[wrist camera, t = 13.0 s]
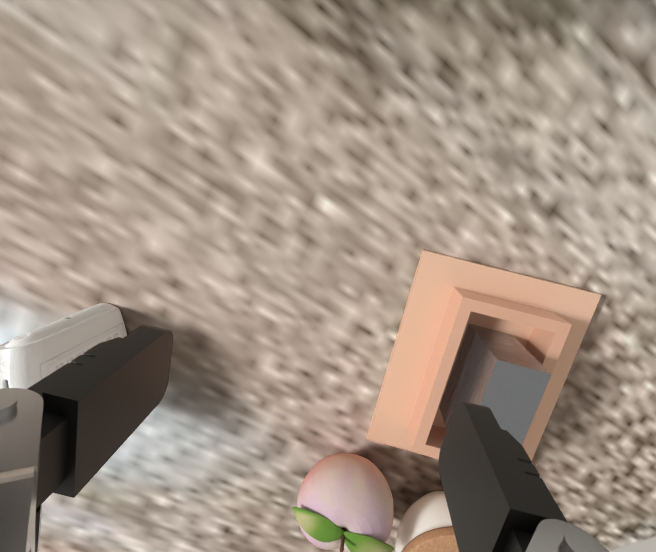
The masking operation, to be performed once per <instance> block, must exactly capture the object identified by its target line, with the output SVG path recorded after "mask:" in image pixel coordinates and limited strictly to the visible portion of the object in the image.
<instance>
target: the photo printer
mask: <svg viewBox="0 0 656 552" xmlns="http://www.w3.org/2000/svg"><path fill="white" fill-rule="evenodd" d="M125 336H127V333H126V328H125V325H124V321H123V318H122V315H121V312H120V310H119V308H118V307H115V306H114V305H111V304H108V303H100V304H97V305H94V306H92V307H89V308H87V309H84V310H82V311H79V312H77V313H74V314H72V315H69V316H67V317H64V318H62V319H59V320H57V321H54V322H52V323H49V324H47V325H44V326H42V327H39V328H37V329H34V330H32V331H29V332H27V333H24V334H22V335H19V336H17V337H16V338H14V339H13V340H11V341H8V342H6V343H4V344H2V345H0V389H2V388H22V389H28V388H29V387H31V386H32V385H34V384H35V383H37V382H39V381H40V380H42V379H43V378H45V377H47V376H48V375H50V374H51V373H53V372H54V371H56V370H58V369H59V368H61V367H62V366H64V365H65V364H67V363H71V361H72V360H73V359H75V358H76V357H78V356H80V355H83V354H84V352H86V351H88V350H89V349H91V348H92V347H94V346H95V345H97V344H99V343H102V342H105V341H108V340H111V339H114V338H118V337H120V338H124V337H125Z"/></svg>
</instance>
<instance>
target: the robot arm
mask: <svg viewBox="0 0 656 552" xmlns="http://www.w3.org/2000/svg"><path fill="white" fill-rule="evenodd" d="M172 344H173V334H172V332H171V331H169V330H165V329H161V328H157V327H152V326H148V325H142V326H140V327H138V328H137V329H135V330H134V331H133V332H131V333H130V334H128V335H127V336H125V337H124V338H120V337H118V338H114V339H111V340H108V341H105V342H102V343H99V344H97V345H95V346H94V347H92V348H91V349H89V350H88V351H86V352H84V354H83V355H80V356H78V357H76V358H75V359H73V360H72V361H71V363H67V364H65V365H64V366H62V367H61V368H59V369H58V370H56V371H54V372H53V373H51V374H50V375H48V376H47V377H45V378H43V379H42V380H40V381H39V382H37V383H35V384H34V385H32V386H31V387H29V388H28V389H22V388H2V389H0V552H39V541H40V528H41V515H42V503H43V502H44V501H45V500H46V499H47V498H48V497H49V496H50V495H51V494H52V493H57V494H61V495H65V496H69V497H73V498H74V497H75V496H76V495H77V494H78V493H79V492H80V491H81V489H82V488H83V487H84V486H85V485H86V484H87V483H88V482H89V481H90V479H91V478H92V477H93V476H94V475H95V474H96V473H97V472H98V471H99V469H100V468H101V467H102V466H103V465H104V464H105V463H106V462H107V461H108V459H109V458H110V457H111V456H112V455H113V454H114V453H115V452H116V451H117V449H118V448H119V447H120V446H121V445H122V444H123V443H124V442H125V441H126V439H127V438H128V437H129V436H130V435H131V434H132V433H133V432H134V431H135V429H136V428H137V427H138V426H139V425H140V424H141V423H142V422H143V421H144V419H145V418H146V417H147V416H148V415H149V414H150V413H151V412H152V411H153V409H154V408H155V407H156V406H157V405H158V404H159V403H160V401H161V399H162V398H163V396H164V394H165V391H166V388H167V385H168V379H169V371H170V362H171V353H172ZM531 462H532V461H531V459H530V458H529V456H528V454H527V453H526V451H525V449H524V447H523V446H522V445H521V444H520V443H519V442H518V441H517V440H516V439H515V438H514V437H513V436H512V435H511V434H510V433H509V432H508V431H507V430H503V429H501V428H500V426H499V424H498V422H497V420H496V418H495V417H494V415H493V413H492V411H491V409H490V408H489V407H487V406H483V405H478V404H474V403H470V402H466V401H462V400H460V401H458V402H457V404H456V406H455V408H454V411H453V414H452V416H451V419H450V422H449V425H448V428H447V431H446V434H445V437H444V440H443V443H442V446H441V449H440V454H439V474H440V478H441V482H442V486H443V490H444V494H445V498H446V502H447V506H448V510H449V514H450V518H451V522H452V526H453V529H454V533H455V537H456V541H457V545H458V549H459V552H609V551H608V550H607V549H606V548H605V547H604V546H603V545H602V544H601V543H600V542H599V541H597V540H596V539H595V538H594V537H592V536H591V535H589V534H588V533H587V532H585V531H583V530H582V529H580V528H578V527H577V526H574V525H572V524H570V523H568V522H567V521H566V519H565V518H564V516H563V514H562V512H561V511H560V509H559V507H558V506H557V504H556V502H555V500H554V499H553V497H552V495H551V494H550V492H549V490H548V489H547V487H546V485H545V483H544V482H543V480H542V478H539V473H538V471H537V470H536V468H535V466H534V465H533V464H531Z"/></svg>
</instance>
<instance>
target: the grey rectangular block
mask: <svg viewBox="0 0 656 552" xmlns="http://www.w3.org/2000/svg"><path fill="white" fill-rule="evenodd" d="M551 375H552V374H551V373H550V372H549V371H548V370H547V369H546V368H545V367H544V366H543V365H542V364H541V363H540V362H539V361H538V360H537V359H536V358H535V357H534V356H533V355H532V354H531V353H530V352H529V351H528V350H527V349H526V348H525V347H524V346H523V345H522V344H521V343H520V342H519V341H518V340H517V339H516V338H515V337H514V336H513V335H511V334H507V333H504V332H500V331H496V330H492V329H489V328H485V327H481V326H477V325H474V324H470V323H469V325H468V328H467V331H466V334H465V337H464V339H463V342H462V345H461V348H460V351H459V354H458V356H457V359H456V362H455V365H454V368H453V370H452V373H451V376H450V379H449V382H448V385H447V387H446V390H445V393H444V396H443V399H442V402H441V404H440V407H439V408H440V411H441V414H442V417H443V420H444V423H445V426H446V429H447V428H448V425H449V422H450V419H451V416H452V414H453V411H454V408H455V406H456V404H457V402H458V401H460V400H462V401H466V402H470V403H474V404H478V405H483V406H487V407H489V408H490V409H491V411H492V413H493V415H494V417H495V418H496V420H497V422H498V424H499V426H500V428H501V429H503V430H507V431H508V432H509V433H510V434H511V435H512V436H513V437H514V438H515V439H516V440H517V441H518V442H519V443H520V444H521V445H522V444H523V442H524V439H525V437H526V434H527V432H528V430H529V427H530V425H531V423H532V420H533V418H534V415H535V413H536V411H537V408H538V406H539V404H540V401H541V399H542V396H543V394H544V392H545V389H546V387H547V385H548V382H549V380H550V377H551Z"/></svg>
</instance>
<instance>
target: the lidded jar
mask: <svg viewBox="0 0 656 552" xmlns="http://www.w3.org/2000/svg"><path fill="white" fill-rule="evenodd" d="M395 552H459V549H458V545H457V541H456V537H455V533H454V529H453V526H452V522H451V518H450V514H449V510H448V506H447V502H446V498H445V494H444V491H434V492H430V493H427V494H425V495H424V496H422V497H421V498H420V499H418V500H417V501H415V502H414V503H413V504H412V505H411V506H410V507H409V508H408V510H407V511H406V512H405V514H404V515H403V518H402V520H401V522H400V525H399V528H398V533H397V538H396V547H395Z"/></svg>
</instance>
